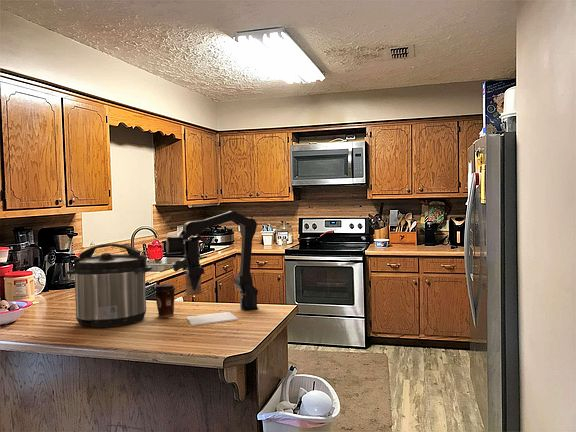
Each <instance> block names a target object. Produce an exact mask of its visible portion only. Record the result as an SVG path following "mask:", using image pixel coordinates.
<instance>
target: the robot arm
mask: <svg viewBox="0 0 576 432" xmlns="http://www.w3.org/2000/svg"><path fill="white" fill-rule="evenodd" d="M230 221H231V222H232V223H234V224H235V225H237V226H239V233H240V235H241V249H240V261H239V262H240V265H239V271H238V274H234V283H233V284H234V285H235V288H236V289H237V290H239V292H240V294H241V295H240V298H239V305H240V309H242V310H243V311H253V310H259V307H258V294H259V290H258V289H257V288H256V287H255V286H254V281H253V277H252V273H251V272H252V271H251V266H252V265H251V264H252V253H253V238H254V237H255V235H256V232H257V227H258V223H257V221H256V219H255V218H253V217H246V216H244V215H243V214H240V213H238V212H237V211H236V210H229V211H227V212H224V213H221V214H218V215H215V216H212V217H208V218H205V219H201V220H191V221H187V222H185V223H183V226H182V231H181V232H180V233H179V235H177V236H167V237H166V241H165V252H166V255H168V254H169V255H170V254H171V255H172V254H181V253H182V252H183V251H184V254H183V258H180V259H178V260H175V261H174V262H171V266H172V269H173V271H174V272H178V271H180V270H181V269H182V271H183V273H184V274H185V275H188V276H189V277H190V279H191V284H192V288H193V290H196V287H197V285H198V282H199V280H200V277H201V276H202V275H205V268H204V267H203V266H201V262H200V257H201V254H200V241H204V238H203V237H202V236H201V235H200V234H201V233H203V232H204V231H205V230H207V229H209V228H212V227H215V226H218V225H222V224H225V223H227V222H230ZM201 278H202V277H201Z"/></svg>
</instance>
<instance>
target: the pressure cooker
mask: <svg viewBox="0 0 576 432" xmlns="http://www.w3.org/2000/svg"><path fill="white" fill-rule="evenodd" d="M107 247H114V248H121V249H125V251H126V252H127V254H124V253H122V254H119V253H118V254H117V253H116V254H115V253H113V254H112V253H111V252H104V253H102V254H100V255H93V254H94V253H95V251H96V249H101V248H107ZM78 256H79V257H75V258H74V259H73V268H74V269H69V270H67V271H66V275H74V295H75V297H74V298H75V318H76V319H75V320H76V321H77V322H78V324H79V325H81V326H89V327H90V328H91V327H93V328H108V327H118V326H124V325H130V324H134V323H137V322H139V321H141V320H143V319H144V317H145V315H146V312H147V294H146V291H147V290H146V273H148V272H150V271H151V270H152V271H153V266H151V265H147V255H145V254H141V251H140V250H138V249H137V248H135V247H133V246H130V245H126V244H119V243H105V244H99V245H95V246H91V247H90V248H88V249H85V250H84V251H82V252H81V253H79V255H78Z"/></svg>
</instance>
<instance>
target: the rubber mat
mask: <svg viewBox="0 0 576 432" xmlns="http://www.w3.org/2000/svg"><path fill="white" fill-rule="evenodd" d="M185 318H186V320H187V321H188V322H189V324H190V325H191V326H192V327H193V326H194V327H197V326H202V325H203V326H204V325H210V324H211V325H212V324H219V323H225V322H233V321H239V318H238V317H237V316H236V315H234V314H233V313H231V312H230V311H224V312H216V313H207V314H199V315H198V314H197V315H191V316H190V315H189V316H186V317H185Z"/></svg>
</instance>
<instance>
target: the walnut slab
mask: <svg viewBox="0 0 576 432" xmlns="http://www.w3.org/2000/svg"><path fill="white" fill-rule="evenodd" d="M184 280H185V295H186V296H193V295H202V277H200V280H199V282H198V285H197V287H196V290H193V288H192V284H191V279H190V277H189V276H188V275H186V274H185V279H184Z"/></svg>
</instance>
